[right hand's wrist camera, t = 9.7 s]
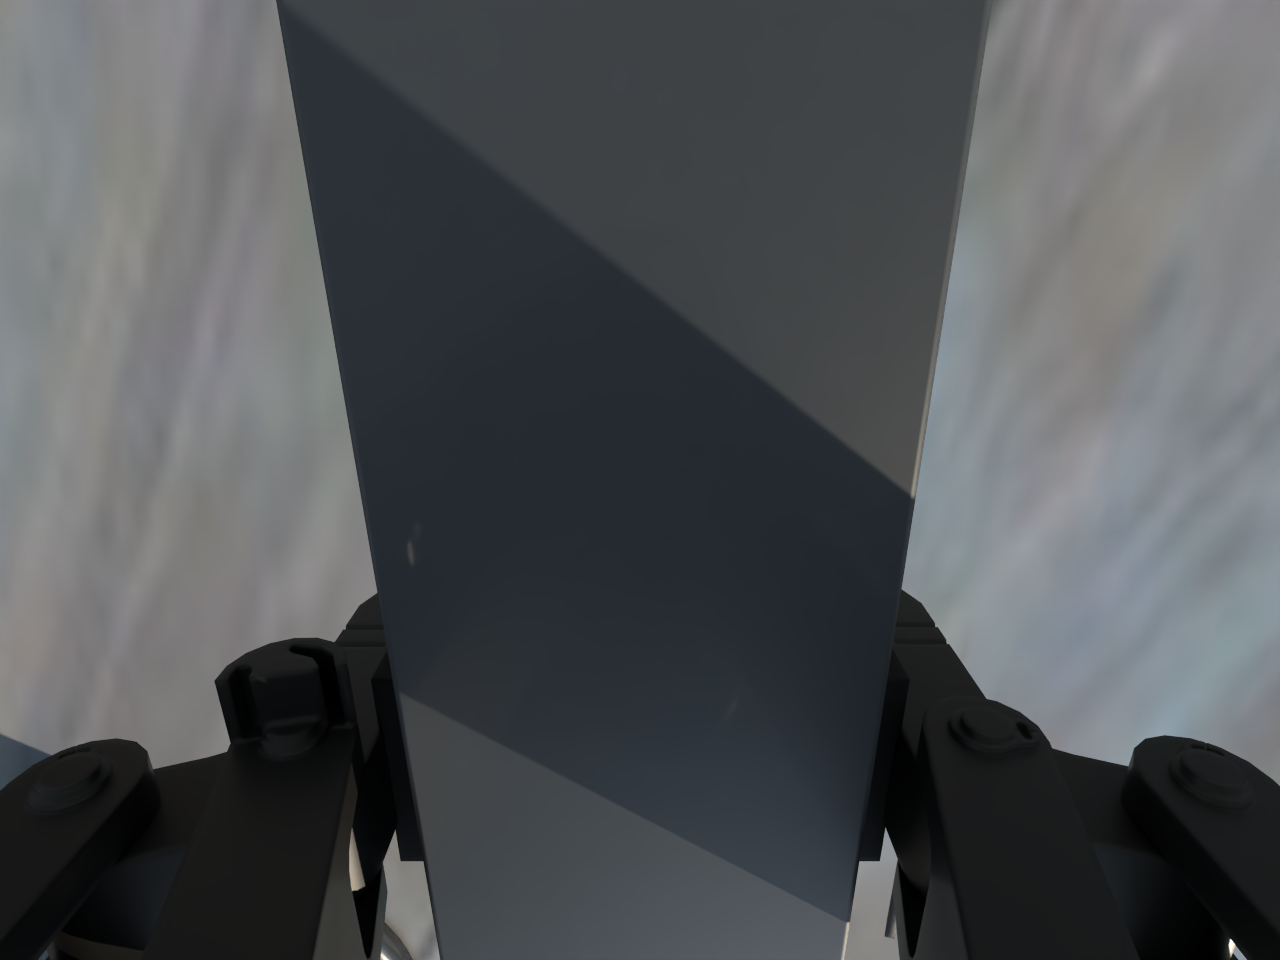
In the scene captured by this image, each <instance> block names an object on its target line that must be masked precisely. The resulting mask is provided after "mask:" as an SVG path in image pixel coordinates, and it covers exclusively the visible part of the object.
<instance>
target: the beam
mask: <svg viewBox="0 0 1280 960" xmlns="http://www.w3.org/2000/svg"><path fill="white" fill-rule="evenodd" d="M276 2H277V8H278V14H279V19H280V25H281V31H282V37H283V43H284V49H285V54H286V60H287V66H288V72H289V78H290V84H291V90H292V95H293V101H294V107H295V113H296V119H297V125H298V130H299V136H300V142H301V148H302V154H303V160H304V165H305V171H306V177H307V183H308V189H309V195H310V201H311V206H312V212H313V218H314V224H315V230H316V236H317V241H318V247H319V253H320V259H321V265H322V271H323V276H324V282H325V288H326V294H327V300H328V306H329V312H330V317H331V323H332V329H333V335H334V341H335V347H336V352H337V358H338V364H339V370H340V376H341V382H342V387H343V393H344V399H345V405H346V411H347V417H348V423H349V428H350V434H351V440H352V446H353V452H354V458H355V463H356V469H357V475H358V481H359V487H360V493H361V498H362V504H363V510H364V516H365V522H366V528H367V534H368V539H369V545H370V551H371V557H372V563H373V569H374V574H375V580H376V586H377V592H378V598H379V604H380V609H381V615H382V621H383V627H384V633H385V639H386V645H387V650H388V656H389V662H390V668H391V674H392V680H393V685H394V691H395V697H396V703H397V709H398V715H399V720H400V726H401V732H402V738H403V744H404V750H405V756H406V761H407V767H408V773H409V779H410V785H411V791H412V796H413V802H414V808H415V814H416V820H417V826H418V831H419V837H420V843H421V849H422V855H423V861H424V867H425V872H426V878H427V884H428V890H429V896H430V902H431V907H432V913H433V919H434V925H435V931H436V937H437V942H438V948H439V954H440V960H844V956H845V950H846V943H847V937H848V930H849V924H850V918H851V911H852V905H853V898H854V892H855V885H856V879H857V872H858V866H859V859H860V853H861V846H862V840H863V833H864V827H865V821H866V814H867V808H868V801H869V795H870V788H871V782H872V775H873V769H874V762H875V756H876V749H877V743H878V736H879V730H880V724H881V717H882V711H883V704H884V698H885V691H886V685H887V678H888V672H889V665H890V659H891V652H892V646H893V639H894V633H895V627H896V620H897V614H898V607H899V601H900V594H901V588H902V581H903V575H904V568H905V562H906V555H907V549H908V543H909V536H910V530H911V523H912V517H913V510H914V504H915V497H916V491H917V484H918V478H919V471H920V465H921V458H922V452H923V446H924V439H925V433H926V426H927V420H928V413H929V407H930V400H931V394H932V387H933V381H934V374H935V368H936V361H937V355H938V349H939V342H940V336H941V329H942V323H943V316H944V310H945V303H946V297H947V290H948V284H949V277H950V271H951V264H952V258H953V252H954V245H955V239H956V232H957V226H958V219H959V213H960V206H961V200H962V193H963V187H964V180H965V174H966V168H967V161H968V155H969V148H970V142H971V135H972V129H973V122H974V116H975V109H976V103H977V96H978V90H979V83H980V77H981V71H982V64H983V58H984V51H985V45H986V38H987V32H988V25H989V19H990V12H991V6H992V0H276Z"/></svg>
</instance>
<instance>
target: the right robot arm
mask: <svg viewBox="0 0 1280 960" xmlns="http://www.w3.org/2000/svg"><path fill="white" fill-rule="evenodd" d="M215 685H216V689H217V692H218V696H219V700H220V704H221V708H222V711H223V715H224V719H225V723H226V727H227V731H228V734H229V738H230V742H231V744H230V746H229V749H228V751H227V752H225V753H221V754H218V755H215V756H211V757H208V758H203V759H198V760H194V761H189V762H185V763H180V764H176V765H171V766H167V767H162V768H157V769H153V768H152V765H151V762H150V758H149V755H148V752H147V751H146V750H145V749H144V748H143V747H142V746H141V745H139V744H138V743H137V742H134V741H128V740H123V739H108V740H99V741H91V742H88V743H85V744H81V745H78V746H75V747H71V748H68V749H65V750H62V751H60V752H58V753H56V754H54V755H52V756H50V757H48V758H46V759H44V760H42V761H40V762H38V763H36V764H34V765H33V766H31V767H30V768H29V769H27V770H26V771H25V772H23V773H22V774H21V775H19V776H18V777H17V778H15V779H14V780H13V781H11V782H10V783H9V784H8V785H7V786H5V787H4V788H3V789H2V790H1V791H0V960H38V959H39V957H40V956H41V955H42V954H43V952H44V951H45V950H47V952H48V954H49V956H48V957H47V959H46V960H413V959H412V957H411V956H410V954H409V952H408V950H407V948H406V947H405V946H404V944H403V943H402V941H401V940H400V938H399V937H398V936H397V935H396V934H395V933H394V932H393V930H392V929H391V928H390V927H389V926H388V925H387V924H385V923H384V920H385V910H386V901H387V886H386V878H385V872H384V867H383V860H384V858H385V855H386V852H387V850H388V847H389V845H390V842H391V839H392V837H393V834H394V832H395V829H396V835H397V841H398V847H399V853H400V859H401V861H423V855H422V849H421V843H420V837H419V831H418V826H417V820H416V814H415V808H414V802H413V796H412V791H411V785H410V779H409V773H408V767H407V761H406V756H405V750H404V744H403V738H402V732H401V726H400V720H399V715H398V709H397V703H396V697H395V691H394V685H393V680H392V674H391V668H390V662H389V656H388V650H387V645H386V639H385V633H384V627H383V621H382V615H381V609H380V604H379V598H378V593H377V594H375V595H374V596H372V597H371V598H370V599H368V600H367V601H365V602H364V603H362V604H361V605H360V606H359V607H358V609H357V610H356V612H355V613H354V615H353V616H352V618H351V619H350V620H349V622H348V623H347V625H346V630H343V631H342V632H341V634H340V635H339V637H338V638H337V640H336V641H335V642H331V641H327V640H323V639H320V638H293V639H288V640H284V641H279V642H274V643H270V644H267V645H265V646H262V647H260V648H258V649H255V650H253V651H250V652H248V653H246V654H244V655H243V656H241V657H240V658H238V659H237V660H235V661H234V662H232V663H231V664H229V665H228V666H226V668H225V669H224V670H223V671H222V672H221V674H220V675H219V676H218V677H217V679H216V680H215ZM885 827H886V829H887V832H888V834H889V837H890V840H891V842H892V845H893V847H894V850H895V853H896V855H897V858H898V861H897V867H896V872H895V878H894V883H893V889H892V895H891V900H890V906H889V912H888V917H887V924H886V931H885V937H889V938H894V937H895V932H896V927H897V937H898V947H899V956H900V960H1238V959H1237V958H1236V956H1235V955H1234V954H1233V951H1234V949H1235V947H1236V946H1237V948H1238V949H1239V950H1240V951H1241V953H1242V954H1243V955H1244V956H1245V957H1246V959H1247V960H1280V786H1279V785H1278V784H1277V783H1276V782H1275V781H1274V780H1273V779H1271V778H1270V777H1268V776H1267V775H1266V774H1264V773H1263V772H1262V771H1260V770H1259V769H1258V768H1256V767H1255V766H1254V765H1252V764H1251V763H1249V762H1248V761H1246V760H1244V759H1242V758H1240V757H1238V756H1236V755H1234V754H1232V753H1230V752H1228V751H1226V750H1224V749H1222V748H1220V747H1217V746H1214V745H1212V744H1209V743H1204V742H1202V741H1197V740H1194V739H1191V738H1183V737H1174V736H1165V735H1164V736H1159V737H1153V738H1147V739H1144V740H1143V741H1142V742H1141V743H1140V744H1139V745H1138V746H1136V747H1135V748H1134V751H1133V754H1132V757H1131V761H1130V764H1129V767H1128V766H1124V765H1119V764H1115V763H1110V762H1105V761H1101V760H1096V759H1092V758H1087V757H1083V756H1078V755H1073V754H1070V753H1066V752H1063V751H1059V750H1056V749H1053V748H1052V747H1051V745H1050V742H1049V741H1048V740H1047V738H1046V737H1045V735H1044V734H1043V732H1042V731H1041V730H1040V728H1039V727H1038V726H1037V725H1036V724H1035V723H1033V722H1032V721H1031V720H1029V719H1028V718H1027V717H1026V716H1024V715H1023V714H1022V713H1020V712H1019V711H1016V710H1014V709H1012V708H1010V707H1008V706H1006V705H1004V704H1001V703H999V702H997V701H993V700H989V699H986V698H985V696H984V695H983V693H982V692H981V690H980V689H979V687H978V686H977V684H976V683H975V681H974V680H973V678H972V677H971V675H970V674H969V673H968V671H967V670H966V668H965V667H964V665H963V664H962V662H961V661H960V659H959V658H958V656H957V655H956V653H955V652H954V651H953V649H952V648H951V646H950V645H949V644H947V643H946V639H945V637H944V636H943V634H942V633H941V631H940V630H939V628H938V627H935V623H934V621H933V620H932V618H931V617H930V615H929V614H928V612H927V611H926V609H925V608H924V606H923V605H922V603H920V602H919V601H917V600H916V599H915V598H913V597H912V596H910V595H909V594H907V593H906V592H905V591H903V590H902V589H901V594H900V601H899V607H898V614H897V620H896V627H895V633H894V639H893V646H892V652H891V659H890V665H889V672H888V678H887V685H886V691H885V698H884V704H883V711H882V717H881V724H880V730H879V736H878V743H877V749H876V756H875V762H874V769H873V775H872V782H871V788H870V795H869V801H868V808H867V814H866V821H865V827H864V833H863V840H862V846H861V853H860V859H859V861H880V856H881V850H882V844H883V838H884V832H885Z"/></svg>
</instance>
